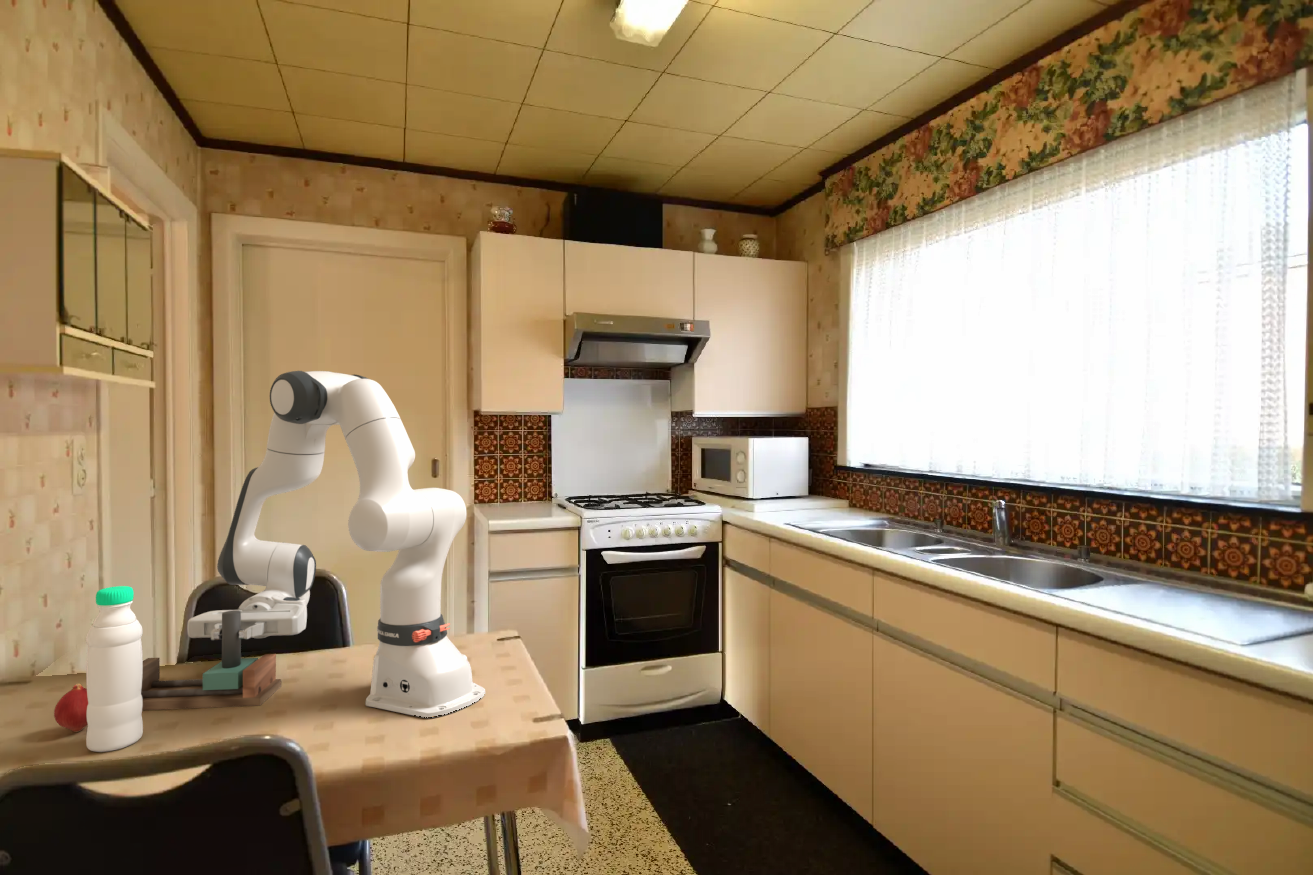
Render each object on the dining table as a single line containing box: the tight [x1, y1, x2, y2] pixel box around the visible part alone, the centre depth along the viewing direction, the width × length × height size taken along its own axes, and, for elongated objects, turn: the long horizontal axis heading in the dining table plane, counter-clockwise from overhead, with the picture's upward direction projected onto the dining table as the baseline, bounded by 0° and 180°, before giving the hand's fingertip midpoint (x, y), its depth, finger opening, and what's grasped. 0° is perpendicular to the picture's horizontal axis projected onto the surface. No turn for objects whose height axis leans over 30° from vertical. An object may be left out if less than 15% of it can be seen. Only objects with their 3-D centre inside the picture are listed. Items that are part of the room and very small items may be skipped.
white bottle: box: [85, 585, 144, 753], centre depth 108 cm, size 7×7×25 cm
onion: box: [53, 683, 88, 733], centre depth 112 cm, size 6×6×8 cm
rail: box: [141, 653, 282, 711], centre depth 126 cm, size 24×9×6 cm, turn 97°
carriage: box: [202, 609, 259, 690], centre depth 126 cm, size 6×8×13 cm
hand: (228, 635), depth 125 cm, fingers open, 3 cm apart
